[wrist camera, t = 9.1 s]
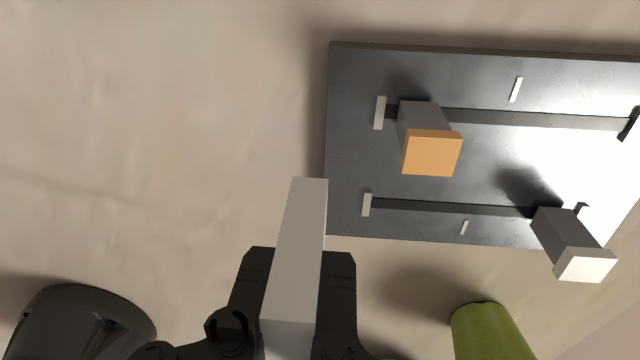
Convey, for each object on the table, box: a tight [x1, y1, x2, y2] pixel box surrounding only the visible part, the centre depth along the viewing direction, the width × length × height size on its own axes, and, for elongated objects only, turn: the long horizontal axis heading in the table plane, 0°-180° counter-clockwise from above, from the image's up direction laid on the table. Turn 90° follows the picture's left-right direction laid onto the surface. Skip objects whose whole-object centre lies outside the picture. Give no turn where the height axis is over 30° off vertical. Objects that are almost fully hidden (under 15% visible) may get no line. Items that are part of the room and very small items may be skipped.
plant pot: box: [451, 302, 537, 360], centre depth 35 cm, size 9×9×9 cm
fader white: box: [529, 206, 618, 283], centre depth 25 cm, size 3×2×5 cm
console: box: [323, 41, 640, 250], centre depth 26 cm, size 24×16×2 cm, turn 88°
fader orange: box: [395, 100, 463, 177], centre depth 21 cm, size 3×2×5 cm
